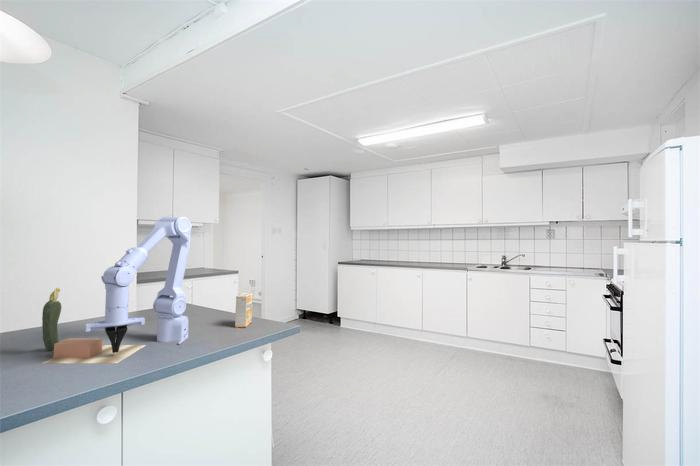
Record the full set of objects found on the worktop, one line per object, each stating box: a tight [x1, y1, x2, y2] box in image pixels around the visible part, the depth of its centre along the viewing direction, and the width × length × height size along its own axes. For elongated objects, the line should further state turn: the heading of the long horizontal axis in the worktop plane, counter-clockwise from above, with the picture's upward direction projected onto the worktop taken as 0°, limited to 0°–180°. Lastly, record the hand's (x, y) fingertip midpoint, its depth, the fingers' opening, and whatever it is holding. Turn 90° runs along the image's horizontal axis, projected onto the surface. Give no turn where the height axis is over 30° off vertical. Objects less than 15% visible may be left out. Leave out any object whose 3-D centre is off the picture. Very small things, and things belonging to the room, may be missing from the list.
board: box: [42, 344, 147, 364], centre depth 102 cm, size 20×16×3 cm
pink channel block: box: [53, 337, 104, 358], centre depth 101 cm, size 10×6×4 cm, turn 93°
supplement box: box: [234, 292, 254, 328], centre depth 142 cm, size 8×5×13 cm, turn 179°
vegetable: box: [41, 287, 62, 352], centre depth 104 cm, size 4×4×20 cm
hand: (115, 351), depth 101 cm, fingers closed
